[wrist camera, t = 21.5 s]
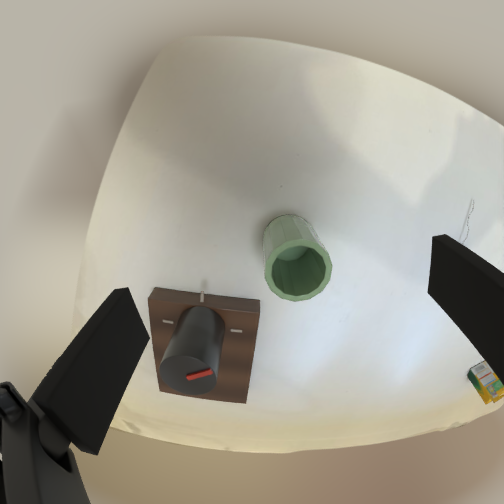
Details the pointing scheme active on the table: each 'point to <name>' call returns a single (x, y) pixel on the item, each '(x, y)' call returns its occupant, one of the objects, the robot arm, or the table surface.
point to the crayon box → (486, 382)
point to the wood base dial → (234, 344)
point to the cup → (294, 259)
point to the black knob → (194, 352)
